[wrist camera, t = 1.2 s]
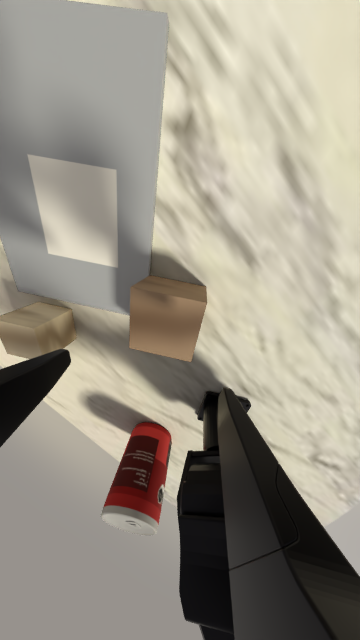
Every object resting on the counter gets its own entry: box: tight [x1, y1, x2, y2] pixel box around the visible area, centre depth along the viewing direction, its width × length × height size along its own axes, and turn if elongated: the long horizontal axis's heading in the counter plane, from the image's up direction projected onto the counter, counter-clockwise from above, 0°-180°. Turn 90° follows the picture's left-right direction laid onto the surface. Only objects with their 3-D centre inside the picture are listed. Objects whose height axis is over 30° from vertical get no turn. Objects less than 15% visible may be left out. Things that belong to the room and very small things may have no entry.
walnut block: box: [129, 275, 207, 362], centre depth 15 cm, size 6×6×5 cm
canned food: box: [101, 422, 172, 536], centre depth 25 cm, size 8×8×11 cm
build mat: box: [0, 0, 169, 315], centre depth 14 cm, size 20×16×1 cm
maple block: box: [0, 302, 77, 359], centre depth 19 cm, size 4×4×5 cm
